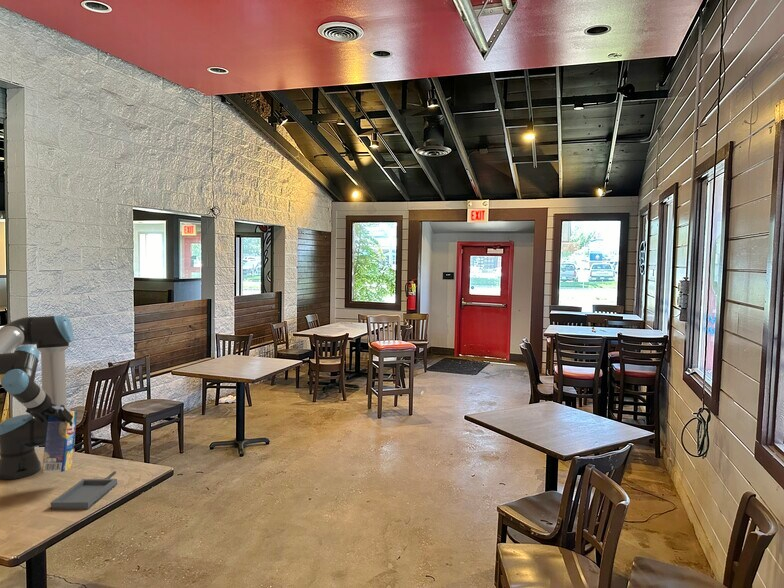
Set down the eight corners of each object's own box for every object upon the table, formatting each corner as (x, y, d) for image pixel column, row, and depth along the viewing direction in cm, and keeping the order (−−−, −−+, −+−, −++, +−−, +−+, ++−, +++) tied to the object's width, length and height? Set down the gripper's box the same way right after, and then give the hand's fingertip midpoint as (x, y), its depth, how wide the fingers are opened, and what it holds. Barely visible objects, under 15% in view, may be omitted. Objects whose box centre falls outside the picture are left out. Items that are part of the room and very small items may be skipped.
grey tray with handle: (98, 473, 216) (98, 467, 216) (131, 473, 216) (130, 467, 216) (51, 509, 186) (50, 502, 186) (88, 509, 186) (88, 502, 185)
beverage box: (71, 467, 207) (77, 411, 211) (62, 471, 196) (68, 412, 200) (52, 468, 205) (58, 411, 209) (41, 472, 194) (48, 412, 198)
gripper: (6, 409, 186) (40, 437, 204) (54, 408, 186) (84, 437, 204) (16, 390, 191) (48, 419, 209) (63, 390, 191) (91, 419, 209)
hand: (66, 428), depth 206 cm, fingers closed on beverage box, 4 cm apart
